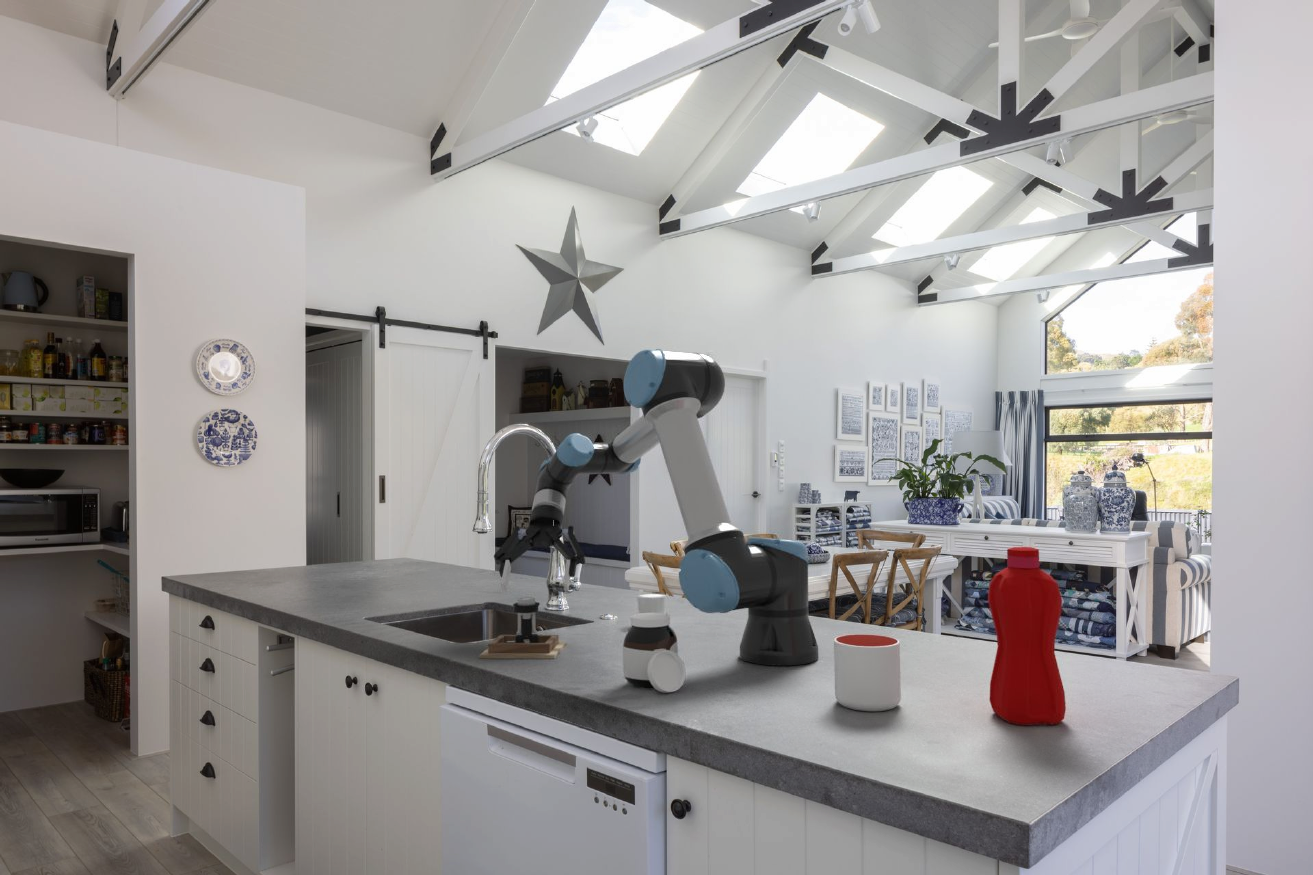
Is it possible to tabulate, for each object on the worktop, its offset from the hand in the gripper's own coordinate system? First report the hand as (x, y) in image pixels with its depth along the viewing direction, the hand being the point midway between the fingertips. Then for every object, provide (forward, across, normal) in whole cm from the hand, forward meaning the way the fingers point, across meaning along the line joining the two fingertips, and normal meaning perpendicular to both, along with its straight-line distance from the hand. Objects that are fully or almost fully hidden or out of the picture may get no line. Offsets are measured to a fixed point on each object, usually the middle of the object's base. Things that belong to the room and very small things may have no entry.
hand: (534, 587), depth 189 cm
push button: (+15, 0, -1) cm, 15 cm away
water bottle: (+46, -85, +30) cm, 101 cm away
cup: (+42, -63, +25) cm, 80 cm away
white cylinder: (-5, -24, -22) cm, 33 cm away
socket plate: (+15, 0, -1) cm, 15 cm away
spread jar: (+34, -29, +18) cm, 48 cm away
